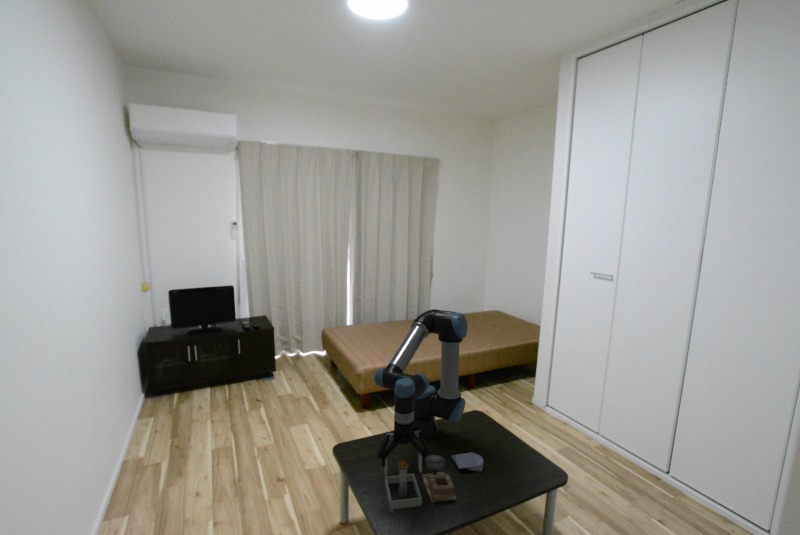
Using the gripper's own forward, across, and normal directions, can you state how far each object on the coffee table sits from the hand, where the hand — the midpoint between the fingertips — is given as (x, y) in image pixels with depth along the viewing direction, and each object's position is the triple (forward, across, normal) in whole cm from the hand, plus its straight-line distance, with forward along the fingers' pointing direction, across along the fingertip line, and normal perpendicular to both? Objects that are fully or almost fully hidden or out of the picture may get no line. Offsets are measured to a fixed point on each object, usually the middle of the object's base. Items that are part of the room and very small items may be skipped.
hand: (403, 472), depth 144 cm
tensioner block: (+10, +15, +3) cm, 18 cm away
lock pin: (+9, 0, 0) cm, 9 cm away
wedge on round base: (+10, +32, +13) cm, 36 cm away
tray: (+10, 0, 0) cm, 10 cm away
